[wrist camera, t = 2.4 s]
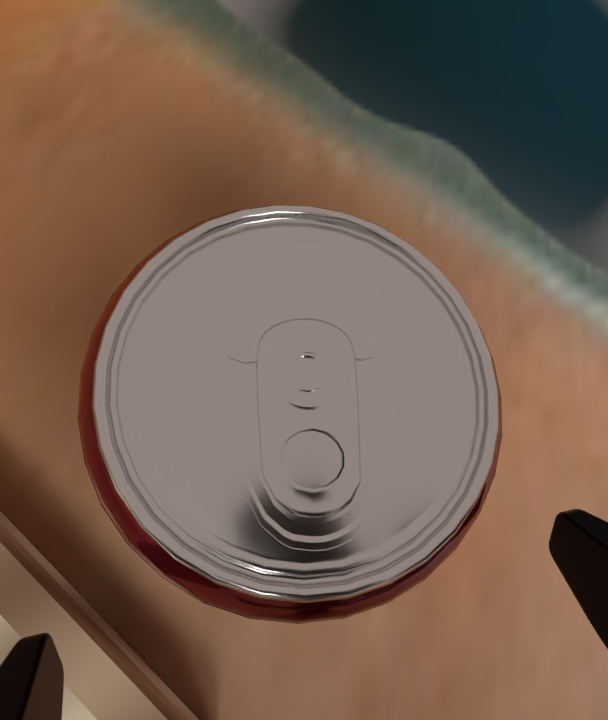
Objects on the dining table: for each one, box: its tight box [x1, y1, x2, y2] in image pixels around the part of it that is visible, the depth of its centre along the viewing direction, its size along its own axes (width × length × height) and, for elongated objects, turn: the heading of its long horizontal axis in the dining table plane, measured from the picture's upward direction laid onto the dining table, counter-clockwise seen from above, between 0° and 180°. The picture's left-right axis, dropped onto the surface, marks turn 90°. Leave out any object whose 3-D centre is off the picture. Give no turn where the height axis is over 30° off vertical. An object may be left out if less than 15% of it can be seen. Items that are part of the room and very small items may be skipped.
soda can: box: [78, 205, 502, 624], centre depth 14 cm, size 7×7×12 cm
